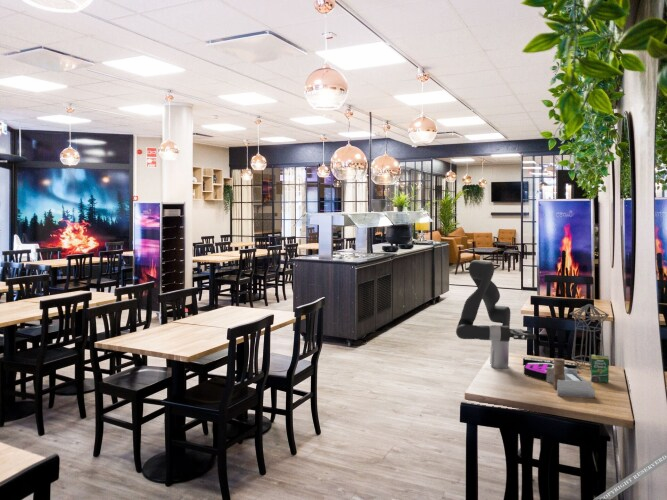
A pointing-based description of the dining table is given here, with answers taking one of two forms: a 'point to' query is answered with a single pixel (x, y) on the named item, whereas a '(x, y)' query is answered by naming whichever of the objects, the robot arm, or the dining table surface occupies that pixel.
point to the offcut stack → (571, 377)
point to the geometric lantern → (587, 331)
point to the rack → (571, 384)
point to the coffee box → (599, 368)
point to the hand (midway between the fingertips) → (534, 334)
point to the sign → (541, 367)
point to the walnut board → (558, 371)
